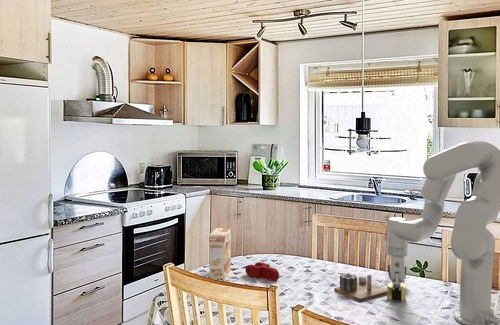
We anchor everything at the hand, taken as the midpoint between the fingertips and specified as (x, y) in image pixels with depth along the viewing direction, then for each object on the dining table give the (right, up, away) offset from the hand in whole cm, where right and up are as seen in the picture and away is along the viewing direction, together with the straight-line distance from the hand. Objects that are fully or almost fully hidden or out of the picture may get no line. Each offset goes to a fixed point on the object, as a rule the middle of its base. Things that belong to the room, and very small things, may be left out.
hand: (396, 296), depth 180 cm
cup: (+5, 0, +15) cm, 16 cm away
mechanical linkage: (-49, +1, +27) cm, 56 cm away
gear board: (-11, 0, +7) cm, 13 cm away
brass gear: (0, -1, 0) cm, 1 cm away
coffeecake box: (-69, +1, +30) cm, 75 cm away
